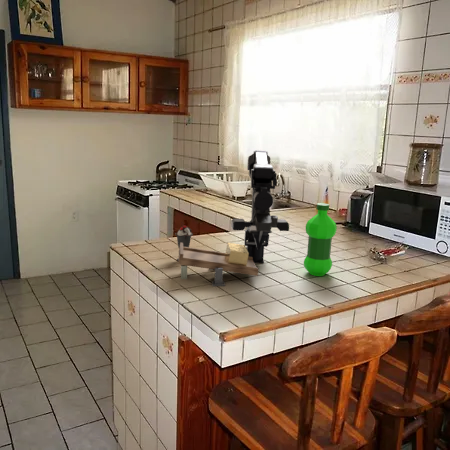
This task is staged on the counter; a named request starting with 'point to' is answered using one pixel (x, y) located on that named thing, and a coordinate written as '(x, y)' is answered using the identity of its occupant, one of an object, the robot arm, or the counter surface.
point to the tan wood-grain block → (236, 254)
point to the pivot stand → (218, 271)
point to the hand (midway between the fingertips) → (258, 249)
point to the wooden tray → (213, 260)
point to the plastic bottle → (319, 241)
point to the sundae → (184, 236)
